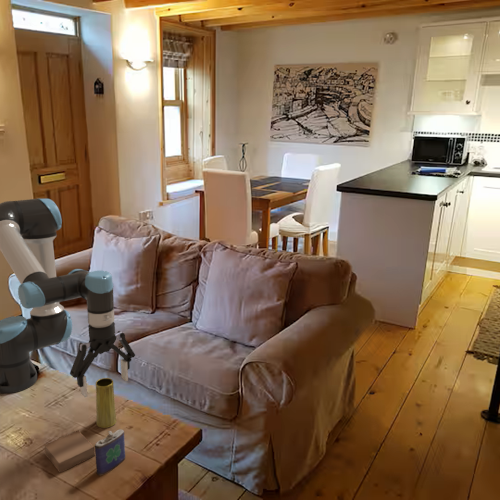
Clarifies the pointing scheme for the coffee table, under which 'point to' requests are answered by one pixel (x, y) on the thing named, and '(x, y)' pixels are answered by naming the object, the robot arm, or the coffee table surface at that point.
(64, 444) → the plinth
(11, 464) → the coffee table surface
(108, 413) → the vase
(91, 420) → the coffee table surface
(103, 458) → the flask
